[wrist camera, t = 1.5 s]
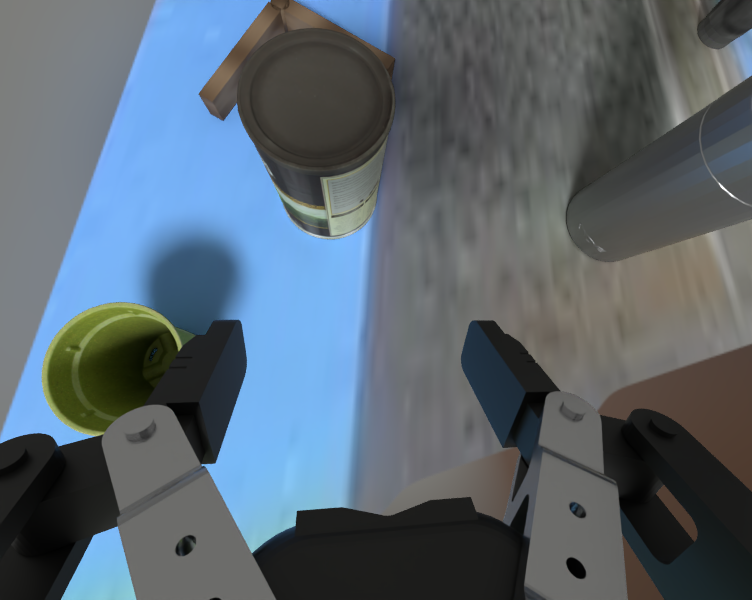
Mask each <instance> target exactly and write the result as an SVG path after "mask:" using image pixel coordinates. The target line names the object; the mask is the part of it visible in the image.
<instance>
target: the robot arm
mask: <svg viewBox="0 0 752 600" xmlns="http://www.w3.org/2000/svg"><path fill="white" fill-rule="evenodd" d="M751 219H752V76H751V77H749V78H748V79H746V80H745V81H743V82H742V83H740V84H739V85H737V86H736V87H734V88H733V89H731V90H730V91H728V92H727V93H725V94H724V95H722V96H721V97H719V98H718V99H717V100H715V101H714V102H712V103H711V104H709V105H708V106H706V107H705V108H703V109H702V110H700V111H699V112H697V113H696V114H694V115H693V116H691V117H690V118H688V119H687V120H685V121H684V122H682V123H681V124H679V125H678V126H676V127H675V128H673V129H672V130H670V131H669V132H667V133H666V134H664V135H663V136H661V137H660V138H658V139H657V140H655V141H654V142H652V143H651V144H649V145H648V146H646V147H645V148H643V149H642V150H640V151H639V152H637V153H636V154H634V155H633V156H632V157H630V158H629V159H627V160H626V161H624V162H623V163H621V164H620V165H618V166H617V167H615V168H614V169H612V170H611V171H609V172H607V173H606V174H604V175H603V176H601V177H600V178H598V179H597V180H596V181H594V182H593V183H591V184H590V185H588V186H587V187H585V188H584V189H582V190H581V191H579V192H578V193H577V194H576V195H575V196H574V197H573V198H572V200H571V202H570V204H569V207H568V211H567V226H568V230H569V233H570V235H571V238H572V239H573V241H574V242H575V244H576V245H577V246H578V247H579V248H580V249H581V251H583V252H584V253H585V254H587V255H588V256H590V257H592V258H594V259H596V260H600V261H604V262H614V261H619V260H623V259H626V258H629V257H633V256H636V255H639V254H642V253H645V252H648V251H652V250H655V249H659V248H662V247H665V246H668V245H671V244H674V243H678V242H681V241H684V240H687V239H690V238H694V237H697V236H700V235H703V234H706V233H709V232H713V231H716V230H719V229H722V228H725V227H728V226H732V225H735V224H738V223H741V222H744V221H747V220H751ZM461 364H462V369H463V371H464V373H465V375H466V377H467V379H468V381H469V383H470V385H471V387H472V389H473V391H474V393H475V395H476V397H477V399H478V400H479V402H480V404H481V406H482V408H483V410H484V412H485V414H486V416H487V418H488V420H489V422H490V424H491V426H492V428H493V430H494V432H495V434H496V436H497V437H498V439H499V441H500V443H501V445H502V447H503V448H508V447H518V449H519V451H520V455H519V457H518V460H517V464H516V468H515V473H514V478H513V482H512V487H511V491H510V496H509V501H508V505H507V509H506V514H505V516H504V519H503V522H502V521H500V520H498V519H495V518H493V517H491V516H488V515H485V514H482V513H479V512H476V510H475V507H474V505H473V502H472V499H471V497H466V498H452V499H442V500H430V501H427V502H425V503H422V504H420V505H417V506H415V507H412V508H410V509H407V510H404V511H402V512H399V513H397V514H395V515H391V516H383V515H378V514H373V513H368V512H363V511H358V510H353V509H348V508H343V507H340V508H328V509H316V510H303V511H297V517H296V526H294V527H292V528H289V529H287V530H285V531H283V532H281V533H279V534H277V535H275V536H274V537H272V538H271V539H269V540H268V541H266V542H265V543H264V544H263V545H261V546H260V547H259V548H258V549H257V550H255V551H254V552H253V553H251V551H250V549H249V547H248V546H247V544H246V542H245V540H244V538H243V536H242V534H241V532H240V530H239V528H238V527H237V525H236V523H235V521H234V519H233V517H232V515H231V513H230V511H229V510H228V508H227V506H226V504H225V502H224V500H223V498H222V496H221V494H220V492H219V491H218V489H217V487H216V485H215V483H214V481H213V479H212V477H211V475H210V474H209V472H208V470H207V469H206V467H205V466H203V467H202V466H201V464H214V463H216V460H217V457H218V454H219V451H220V448H221V445H222V442H223V439H224V436H225V433H226V430H227V427H228V424H229V421H230V419H231V416H232V413H233V410H234V407H235V404H236V401H237V398H238V395H239V392H240V389H241V386H242V383H243V380H244V377H245V373H246V367H247V357H246V350H245V343H244V337H243V330H242V324H241V321H240V320H214V321H213V323H212V324H211V326H210V328H209V330H208V331H207V333H206V335H196V336H195V337H193V338H192V339H191V340H189V341H188V342H187V343H185V344H184V345H183V346H182V347H181V349H180V351H179V352H178V354H177V355H176V357H175V359H174V360H173V361H172V363H171V364H170V366H169V369H167V371H166V372H165V374H164V375H163V377H162V378H161V380H160V381H159V383H158V384H157V386H156V387H155V389H154V391H153V392H152V394H151V395H150V397H149V398H148V400H147V401H146V403H145V404H144V406H143V407H140V408H137V409H134V410H132V411H130V412H127V413H126V414H124V415H122V416H121V417H119V418H118V419H117V420H115V421H114V422H113V423H112V424H111V425H110V426H109V427H108V428H107V430H106V431H105V433H104V434H102V435H99V436H96V437H92V438H88V439H85V440H81V441H77V442H74V443H70V444H66V445H62V446H58V445H57V443H56V442H55V440H54V439H53V437H51V436H50V435H47V434H41V433H37V434H27V435H23V436H19V437H16V438H13V439H10V440H8V441H5V442H3V443H1V444H0V600H61V598H62V596H63V594H64V592H65V590H66V588H67V586H68V584H69V582H70V581H71V579H72V577H73V575H74V573H75V571H76V569H77V567H78V565H79V563H80V561H81V559H82V557H83V555H84V553H85V551H86V549H87V547H88V545H89V543H90V541H91V539H92V537H93V536H94V535H95V534H98V533H101V532H103V531H106V530H109V529H112V528H114V527H117V526H118V529H119V533H120V537H121V541H122V544H123V548H124V552H125V556H126V560H127V564H128V568H129V572H130V576H131V580H132V584H133V587H134V591H135V595H136V599H137V600H628V599H627V588H626V576H625V565H624V554H623V542H622V534H623V536H624V537H625V539H626V540H627V542H628V543H629V545H630V547H631V548H632V549H633V551H634V553H635V554H636V556H637V557H638V559H639V561H640V562H641V564H642V565H643V567H644V568H645V570H646V572H647V573H648V575H649V576H650V578H651V579H652V581H653V582H654V584H655V586H656V587H657V589H658V590H659V592H660V593H661V595H662V596H663V598H664V600H752V492H751V491H750V490H749V489H748V488H747V487H746V486H745V485H744V484H743V483H742V482H741V481H740V480H739V479H738V478H737V477H735V476H734V475H733V474H732V473H731V472H730V471H729V470H728V469H727V468H726V467H725V466H724V465H723V464H722V463H721V462H719V460H717V459H716V458H715V457H714V456H713V455H712V454H711V453H710V452H709V451H708V450H707V449H706V448H705V447H704V446H702V444H700V443H699V442H698V441H697V440H696V439H695V438H694V437H693V436H692V435H691V434H690V433H689V432H688V431H687V430H685V429H684V428H683V427H682V426H681V425H680V424H678V423H677V422H675V421H674V420H672V419H671V418H669V417H667V416H665V415H663V414H660V413H658V412H656V411H652V410H648V409H636V410H633V411H632V412H631V414H630V415H629V417H628V418H627V420H626V421H625V420H621V419H616V418H612V417H606V416H602V415H599V414H598V412H597V411H596V409H595V408H594V407H593V406H592V405H591V404H589V403H588V402H587V401H585V400H584V399H582V398H580V397H578V396H576V395H574V394H571V393H567V392H561V391H560V390H559V389H558V388H557V386H556V385H555V384H554V383H553V382H552V380H551V379H550V378H549V377H548V376H547V374H546V373H545V372H544V371H543V369H542V368H541V367H540V366H539V365H538V363H535V360H534V359H533V357H532V356H531V355H529V354H528V351H527V350H526V349H525V348H524V347H523V345H522V344H521V343H520V342H519V341H517V340H516V339H514V338H513V337H511V336H510V335H508V334H504V332H503V331H502V330H501V329H500V327H499V326H498V325H497V323H496V322H495V321H472V322H471V323H470V325H469V328H468V332H467V336H466V339H465V343H464V347H463V351H462V355H461ZM663 485H665V486H666V487H667V489H668V490H669V491H670V492H671V493H672V494H673V495H674V497H675V498H676V499H677V500H678V502H679V503H680V504H681V505H682V506H683V507H684V509H685V510H686V511H687V512H688V514H689V515H690V516H691V517H692V519H693V521H694V522H695V525H696V527H697V531H698V536H697V540H696V541H695V542H694V541H693V540H692V539H691V537H690V536H689V535H688V533H687V532H686V531H685V530H684V528H683V527H682V526H681V525H680V523H679V522H678V521H677V520H676V518H675V517H674V516H673V515H672V513H671V512H670V511H669V510H668V508H667V507H666V506H665V505H664V503H663V502H662V501H661V500H660V499H659V497H658V496H657V495H656V493H657V492H658V490H659V489H660V488H661V487H662V486H663Z"/></svg>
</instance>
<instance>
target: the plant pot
mask: <svg viewBox="0 0 752 600" xmlns="http://www.w3.org/2000/svg"><path fill="white" fill-rule="evenodd" d="M195 336H196V335H194V334H192V333H190V332H188V331H185V330H182V329H180V328H177V327H174V326H173V324H172V323H171V322H170V321H169V320H168V319H167V318H166V317H164V316H163V315H162V314H160V313H159V312H157V311H155V310H153V309H151V308H149V307H146V306H143V305H139V304H135V303H126V302H116V303H107V304H103V305H99V306H96V307H93V308H90V309H88V310H86V311H84V312H82V313H80V314H79V315H77V316H75V317H74V318H73V319H71V320H70V321H69V322H68V323H67V324H66V325H65V326H64V327H63V328H62V329H61V330H60V331H59V332H58V333H57V334H56V336H55V337H54V339H53V340H52V342H51V344H50V345H49V348H48V350H47V352H46V354H45V358H44V361H43V367H42V386H43V392H44V395H45V398H46V401H47V403H48V405H49V406H50V408H51V410H52V411H53V413H54V414H55V415H56V416H57V417H58V419H60V420H61V421H62V422H63V423H64V424H66V425H67V426H69V427H70V428H72V429H74V430H76V431H78V432H81V433H84V434H88V435H92V436H99V435H102V434H104V433H105V431H106V430H107V428H108V427H109V426H110V425H111V424H112V423H113V422H114V421H115V420H117V419H118V418H119V417H121V416H122V415H124V414H126V413H127V412H130V411H132V410H134V409H137V408H140V407H143V406H144V404H145V403H146V401H147V400H148V398H149V397H150V395H151V394H152V392H153V391H154V389H155V387H156V386H157V384H158V383H159V381H160V380H161V378H162V377H163V375H164V374H165V372H166V371H167V369H169V366H170V364H171V363H172V361H173V360H174V359H175V357H176V355H177V354H178V352H179V351H180V349H181V347H182V346H183V345H184V344H185V343H187V342H188V341H189V340H191V339H192V338H193V337H195ZM155 348H157V351H156V353H155V354H154V356H153V358H152V361H150V360H149V358H150V355H151V353H152V351H153V349H155Z"/></svg>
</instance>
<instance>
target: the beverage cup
mask: <svg viewBox="0 0 752 600" xmlns="http://www.w3.org/2000/svg"><path fill="white" fill-rule="evenodd" d="M751 28H752V0H721V1H720V2H719V3H718V4H717V5H716V6H715V7H714V8H713V9H712V11H711V12H710V13H709V14H708V15H707V16H706V18H704V19H703V20H702V21H701V22H700V24H699V25H698V35H699V38H700V39H701V41H702V42H703V43H704V44H705V45H707V46H708V47H711V48H714V49H720V48H723V47H725V46H726V45H728V44H729V43H730V42H732V41H733V40H735V39H736V38H738V37H740V36H742V35H743V34H744V33H746V32H747V31H749V30H750V29H751Z"/></svg>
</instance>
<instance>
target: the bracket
mask: <svg viewBox="0 0 752 600" xmlns="http://www.w3.org/2000/svg"><path fill="white" fill-rule="evenodd" d="M305 28H322V29H329V30H333V31H337V32H341V33H343V34H346V35H348V36H350V37H352V38H354V39H356V40H358V41H359V42H361V43H362V44H364V45H365V46H366V47H368V48H369V49H370V50H371V51H372V52H373V53H374V54H375V55H376V56H377V57H378V58H379V59H380V60H381V62H382V63H383V65H384V66H385V68H386V70H387V72H388V74H389V76H390V78H391V80H392V74H393V68H394V61H395V58H393V57H392V56H390V55H388V54H386V53H385V52H383V51H381V50H379V49H378V48H376V47H374V46H372V45H371V44H369V43H367V42H365V41H364V40H362V39H360V38H358V37H357V36H355V35H353V34H351V33H350V32H348V31H346V30H344V29H343V28H341V27H339V26H337V25H336V24H334V23H332V22H330V21H329V20H327V19H325V18H323V17H321V16H320V15H318V14H316V13H314V12H313V11H311V10H309V9H307V8H306V7H304V6H302V5H300V4H299V3H297V2H295V1H293V0H271V3H270V2H268V3H267V5H266V6H265V7H264V9H263V10H262V11H261V13H260V14H259V15H258V16H257V18H256V19H255V20H254V22H253V23H252V24H251V26H250V27H249V28H248V30H247V31H246V32H245V34H244V35H243V36H242V37H241V39H240V40H239V41H238V43H237V44H236V45H235V47H234V48H233V49H232V51H231V52H230V53H229V55H228V56H227V57H226V58H225V60H224V61H223V62H222V64H221V65H220V66H219V68H218V69H217V70H216V72H215V73H214V74H213V76H212V77H211V78H210V79H209V81H208V82H207V83H206V85H205V86H204V87H203V89H202V90H201V91H200V93H199V95H200V97H201V99H202V100H203V102H204V104H205V105H206V107H207V109H208V110H209V112H210V114H212V115H214V116H215V117H217V118H219V119H221V120H223V121H224V119H225V118H226V117H227V115H228V114H229V112H230V111H231V110H232V108H233V107H234V106H235V104H236V103H237V87H238V82H239V78H240V75H241V72H242V70H243V68H244V66H245V64H246V62H247V61H248V60H249V58H250V57H251V56H252V55H253V54H254V52H255V51H256V50H257V49H258V48H259V47H261V46H262V45H263V44H264V43H266V42H267V41H269V40H270V39H272V38H273V37H275V36H277V35H280V34H282V33H285V32H288V31H292V30H297V29H305Z"/></svg>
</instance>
